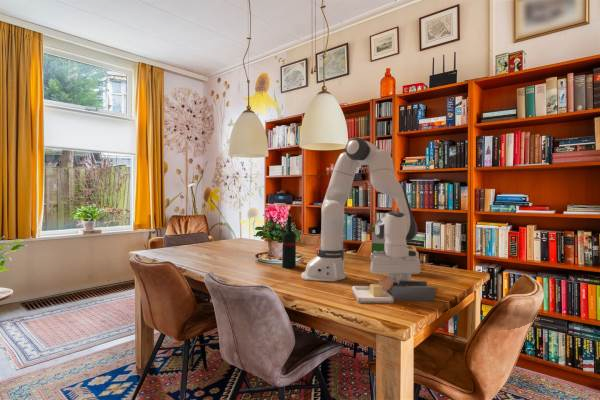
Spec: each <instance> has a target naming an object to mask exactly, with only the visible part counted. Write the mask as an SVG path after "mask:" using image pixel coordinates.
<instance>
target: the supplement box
mask: <svg viewBox="0 0 600 400" xmlns="http://www.w3.org/2000/svg"><path fill="white" fill-rule="evenodd" d="M397 277H398V275H397V274H393V276H392V278H393V279H397ZM400 280H410V281H412V274H402V277H401V279H400Z"/></svg>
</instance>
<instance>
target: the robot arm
mask: <svg viewBox="0 0 600 400" xmlns="http://www.w3.org/2000/svg"><path fill="white" fill-rule="evenodd" d="M359 167H361V168H369V179H370V183H371V184H370V185H371V186H372V187H373V188H374V190H375V191H377V192H378V193H381V194H383V195H386V196H389V197H391V198H392V199H394V201H395V202H396V205H397V207H398V211H395V210H394V211H393V210H392V211H391V210H390V211H388V212H386V213H385V216H384V217H382V218H378V219H377V220H376V221H375V223H374V233H375V235H376V237H377V238H379V239H381V240H385V249H384V251H374V252H372V251H371V253H370V256H369V258H370V268H369V269H370V272H371V274H374V275H375V274H376V275H388V277H389V278H390V279H391V281H392V284H393V285H399V280H400V279H401V277H402V274H411V275H419V274H420V273H421V271H422V270H421V269H422V268H421V260H420V258H419V252H418V251H417V250H416V249H413V248H410V247H408V244H407V242H410V241H412V240H414V238H415V237H416V236H417V234H418V232H419V231H418V229H419V228H418V225H417V221H416V220H415V218H414V216H413V215H414V214H413V212H412V209H411V205H410V202H409V199H408V195H407V192H406V189H405V187H404V185H403V184H402V183H400V182H399V180H398V178H397V177H396V174H395V166H394V162H393V157H392V155H391V153H390V151H388V150H386V149H381V148H379V147H378V146H377V145H375V144H374V143H372V142H370V141H368V140H365V139H363V138H361V137H353V138H350V139H349V140H348V141H347V143H346V145H345V151H344V152H342V153H340V154H339V156H338V158H337V160H336V162H335V164H334V167H333V170H332V174H331V177H330V180H329V182H328V183H329V184H328V187H327V189H326V192H325V196H324V199H323V201H322V205H321V207H320V208H321V225H320V226H321V230H320V248H318V247H317V248H316V249H315V252H316V256H315V257H314V258H312V259H311V260H310V261H309V262H307V264H306V267H305V270H304V271H302V272H301V275H300V277H301V279H302V280H305V281H321V282H337V281H340V280H343V279H344V280H345V279H346V277H347V276H346V273H345V267H344V266H345V265H344V258H345V250H344V227H345V226H344V225H345V208H344V207H345V205H346V202H347V200H348V198H349V195H350V192H351V189H352V185H353V182H354V180H355V175H356V172H357V169H358V168H359ZM373 253H374V254H373ZM393 274H397V275H398V277H397V279H393V278H392V276H393Z"/></svg>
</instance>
